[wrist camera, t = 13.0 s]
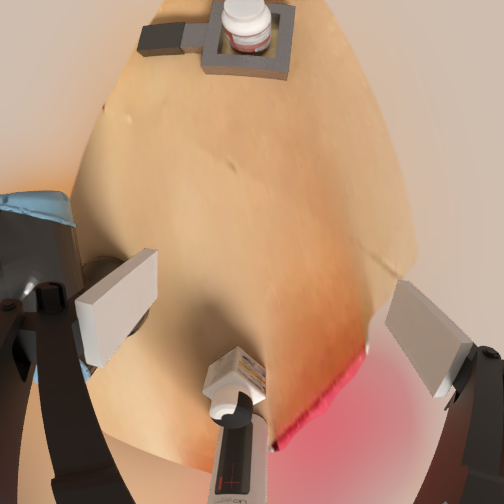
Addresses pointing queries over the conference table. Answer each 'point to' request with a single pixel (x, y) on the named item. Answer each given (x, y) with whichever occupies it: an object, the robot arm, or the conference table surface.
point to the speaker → (240, 465)
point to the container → (234, 388)
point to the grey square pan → (224, 44)
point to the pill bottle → (247, 25)
